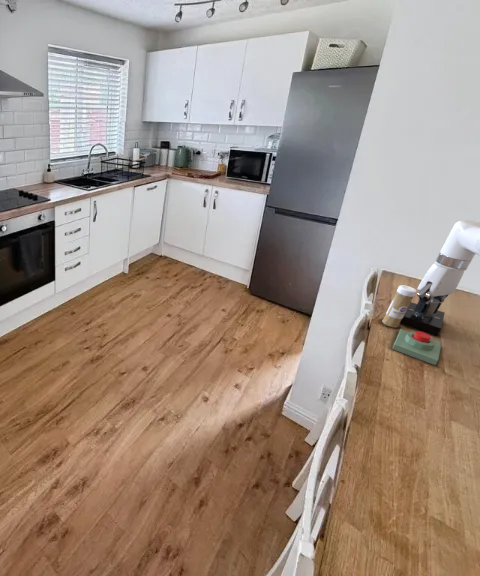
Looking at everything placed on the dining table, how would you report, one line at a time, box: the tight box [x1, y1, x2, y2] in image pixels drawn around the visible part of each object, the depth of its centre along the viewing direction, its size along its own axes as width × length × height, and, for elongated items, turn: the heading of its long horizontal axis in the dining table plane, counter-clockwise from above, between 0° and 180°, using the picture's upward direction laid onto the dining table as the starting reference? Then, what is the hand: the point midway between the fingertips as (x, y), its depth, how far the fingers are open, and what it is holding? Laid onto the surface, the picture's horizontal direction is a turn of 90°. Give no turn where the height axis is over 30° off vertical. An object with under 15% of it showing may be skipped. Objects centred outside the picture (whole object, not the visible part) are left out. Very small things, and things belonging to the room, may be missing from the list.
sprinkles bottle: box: [381, 284, 418, 328], centre depth 117 cm, size 5×5×14 cm
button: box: [413, 330, 432, 343], centre depth 107 cm, size 4×4×2 cm
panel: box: [399, 301, 446, 337], centre depth 122 cm, size 14×10×3 cm
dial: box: [417, 296, 439, 317], centre depth 120 cm, size 4×4×6 cm
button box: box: [392, 328, 442, 366], centre depth 108 cm, size 12×10×4 cm
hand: (424, 311), depth 121 cm, fingers closed on dial, 4 cm apart
